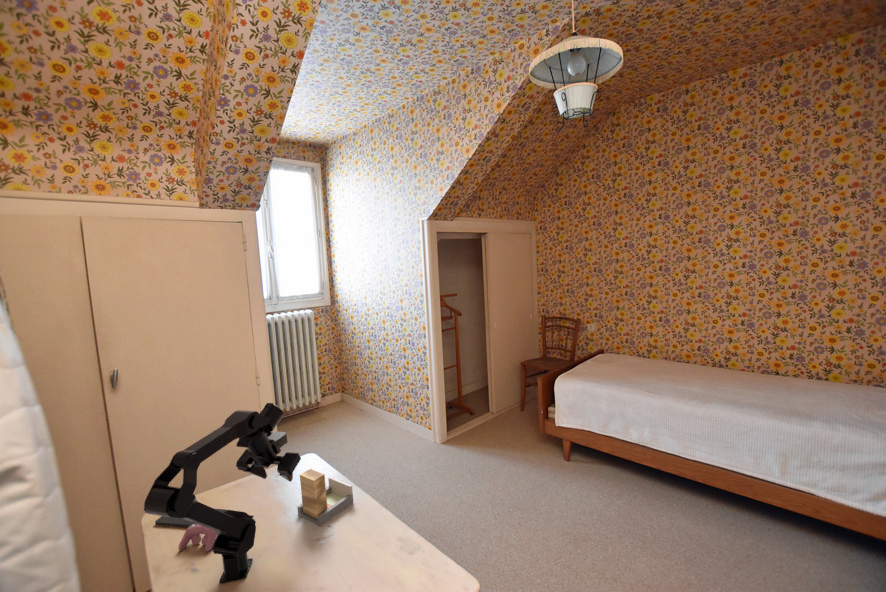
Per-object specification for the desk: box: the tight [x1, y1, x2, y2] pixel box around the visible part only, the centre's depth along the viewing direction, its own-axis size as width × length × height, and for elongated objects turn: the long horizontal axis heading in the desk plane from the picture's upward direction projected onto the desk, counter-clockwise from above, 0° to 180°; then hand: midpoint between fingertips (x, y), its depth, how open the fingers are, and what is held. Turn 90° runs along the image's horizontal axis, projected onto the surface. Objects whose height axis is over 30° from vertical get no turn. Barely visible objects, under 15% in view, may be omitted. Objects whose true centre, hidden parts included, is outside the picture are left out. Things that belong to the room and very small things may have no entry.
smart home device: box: [154, 508, 227, 529], centre depth 126 cm, size 8×2×20 cm
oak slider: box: [299, 468, 327, 519], centre depth 123 cm, size 4×7×12 cm, turn 56°
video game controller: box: [178, 524, 217, 553], centre depth 113 cm, size 10×5×7 cm, turn 85°
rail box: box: [296, 476, 354, 528], centre depth 127 cm, size 14×11×6 cm
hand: (278, 478), depth 119 cm, fingers open, 9 cm apart
